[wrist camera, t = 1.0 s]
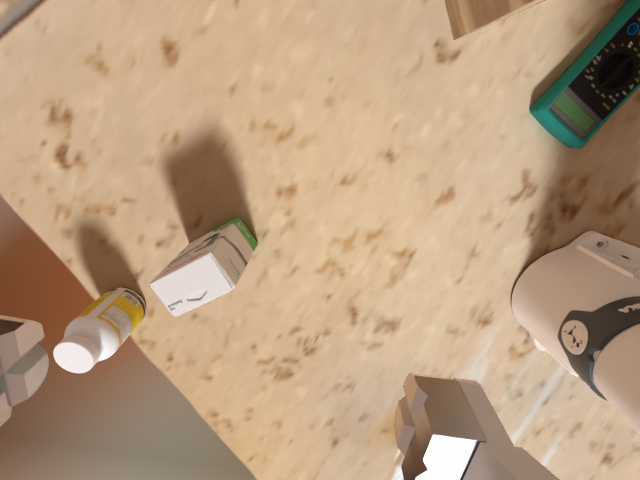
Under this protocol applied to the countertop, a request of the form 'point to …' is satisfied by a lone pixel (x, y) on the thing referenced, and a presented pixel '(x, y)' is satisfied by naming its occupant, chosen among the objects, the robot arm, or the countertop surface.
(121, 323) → the pill bottle
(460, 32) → the oak post
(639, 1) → the digital multimeter
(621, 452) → the countertop surface
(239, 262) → the ink box
